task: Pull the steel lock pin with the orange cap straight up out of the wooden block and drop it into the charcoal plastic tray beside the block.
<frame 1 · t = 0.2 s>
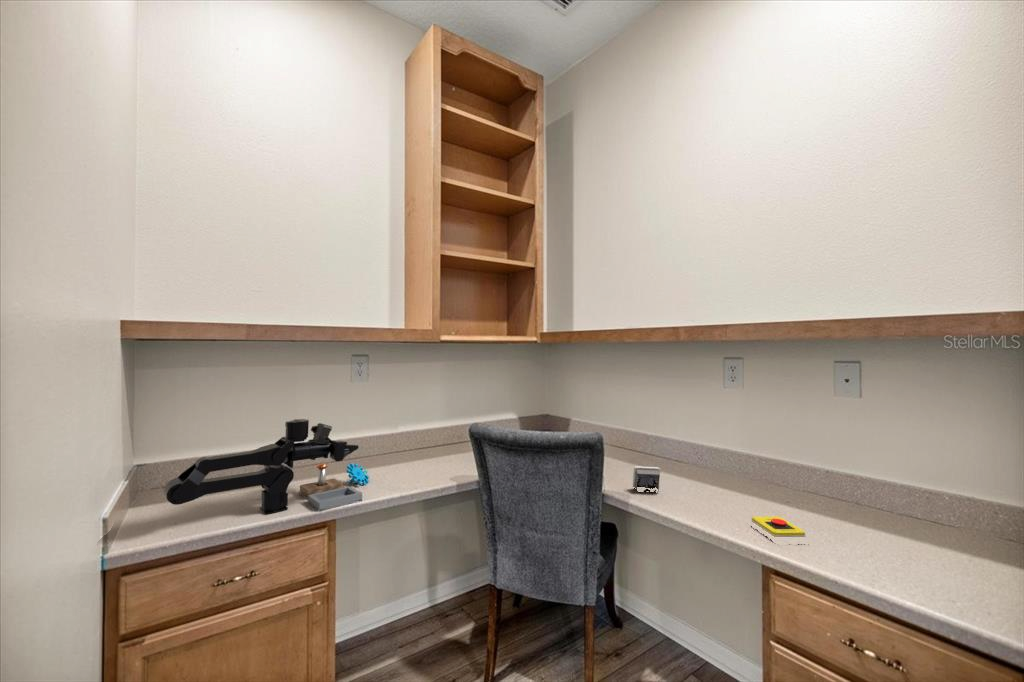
hand: (352, 445, 156), 16 cm above the worktop, tool horizontal, fingers open, 9 cm apart
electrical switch: (647, 492, 159), on the worktop
wooden block: (321, 492, 155), on the worktop
gear: (358, 484, 165), on the worktop
lock pin: (321, 478, 155), in the wooden block
emergency button: (776, 535, 125), on the worktop
tray: (335, 501, 146), on the worktop
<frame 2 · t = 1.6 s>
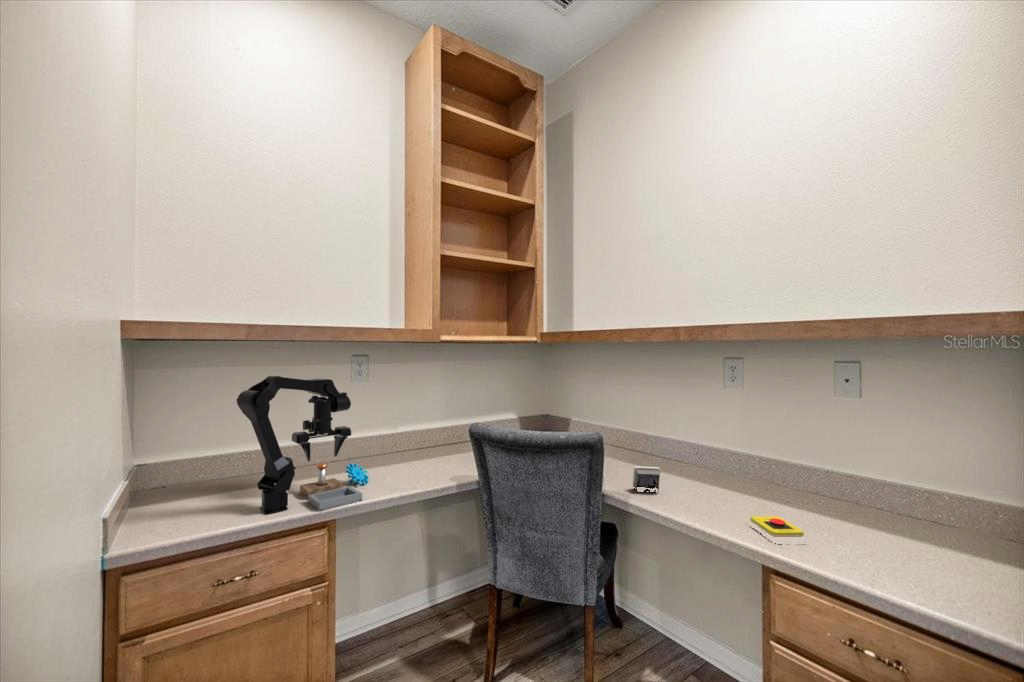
hand: (322, 458, 155), 12 cm above the worktop, tool pointing down, fingers open, 9 cm apart
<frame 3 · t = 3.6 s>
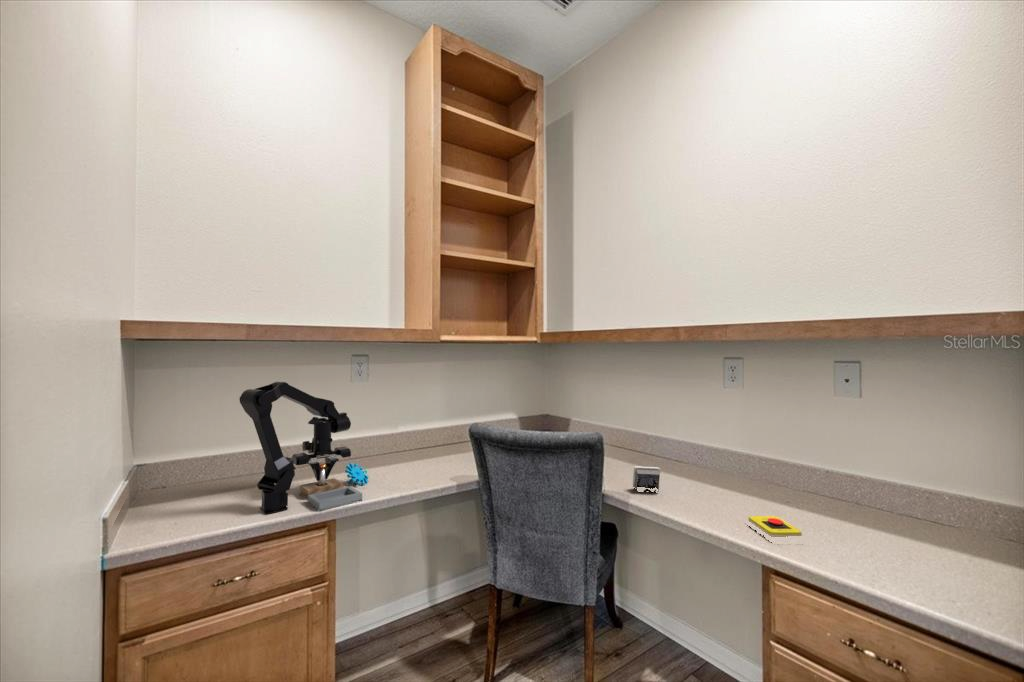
hand: (321, 479, 155), 5 cm above the worktop, tool pointing down, fingers closed on lock pin, 3 cm apart
lock pin: (321, 478, 155), in the wooden block, touching gripper
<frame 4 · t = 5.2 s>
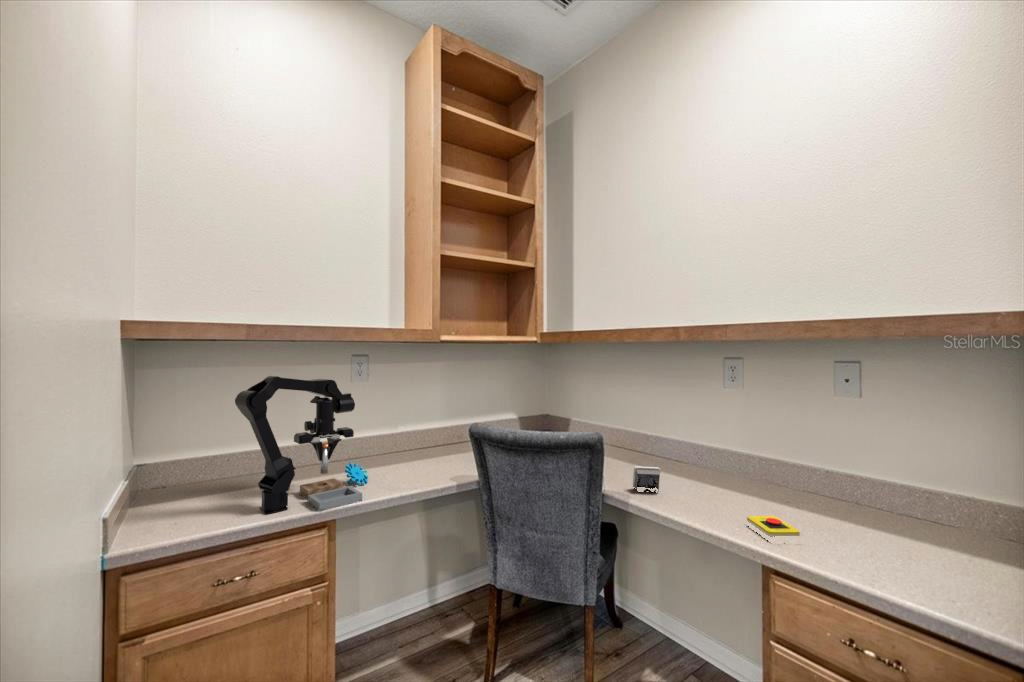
hand: (324, 459, 153), 12 cm above the worktop, tool pointing down, fingers closed on lock pin, 3 cm apart
lock pin: (324, 458, 153), point 12 cm above the worktop, touching gripper
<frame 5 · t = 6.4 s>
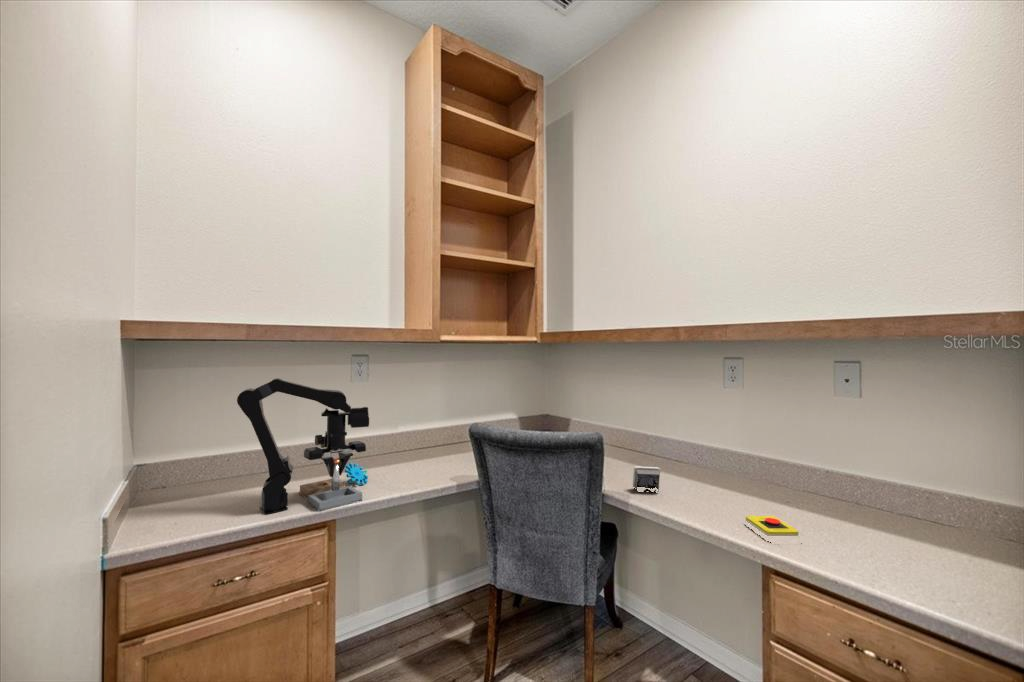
hand: (335, 475, 146), 9 cm above the worktop, tool pointing down, fingers closed on lock pin, 3 cm apart
lock pin: (335, 474, 146), point 9 cm above the worktop, touching gripper
when the fingers open (7 cm above the worktop, at t = 7.3 s): lock pin drops 2 cm, resting on tray.
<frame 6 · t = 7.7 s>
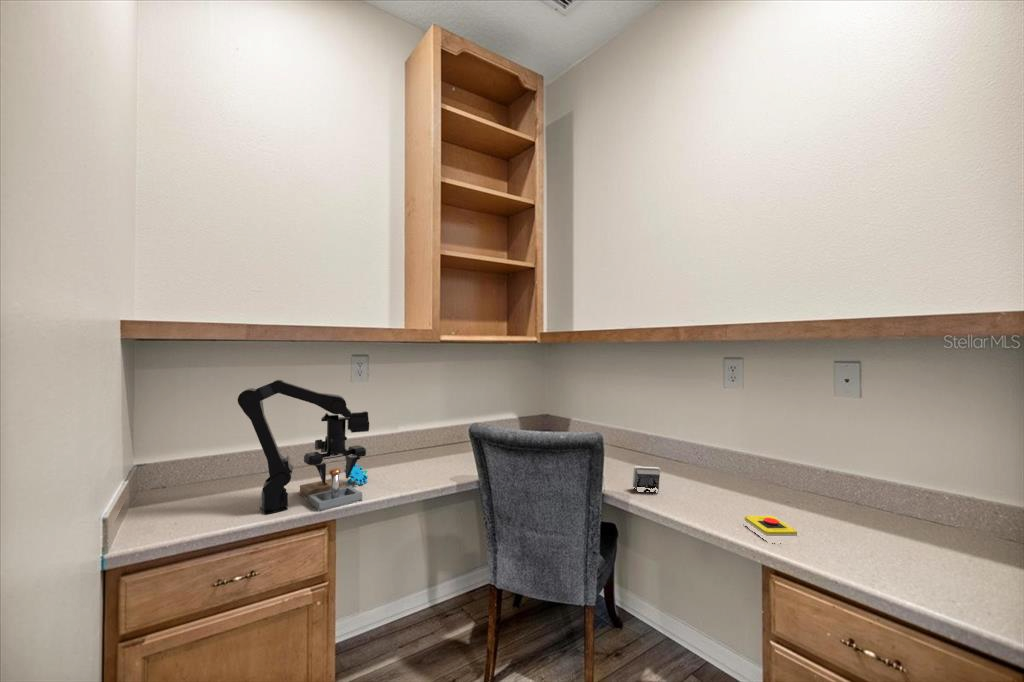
hand: (335, 480, 146), 7 cm above the worktop, tool pointing down, fingers open, 7 cm apart
lock pin: (335, 484, 146), in the tray, point 6 cm above the worktop
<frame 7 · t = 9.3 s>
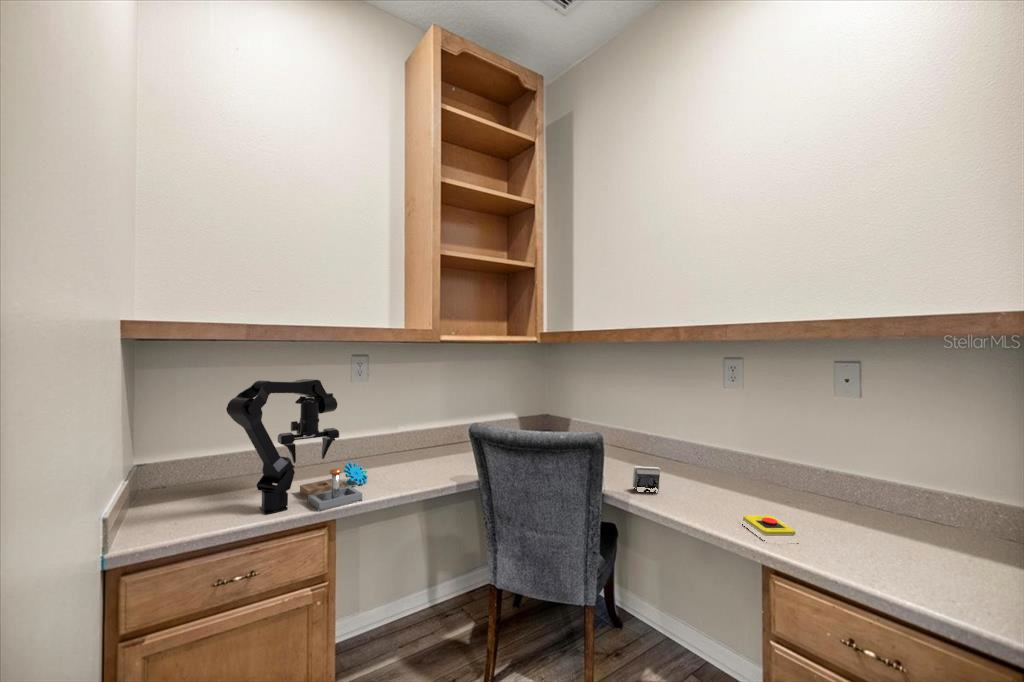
hand: (308, 460, 152), 12 cm above the worktop, tool pointing down, fingers open, 9 cm apart
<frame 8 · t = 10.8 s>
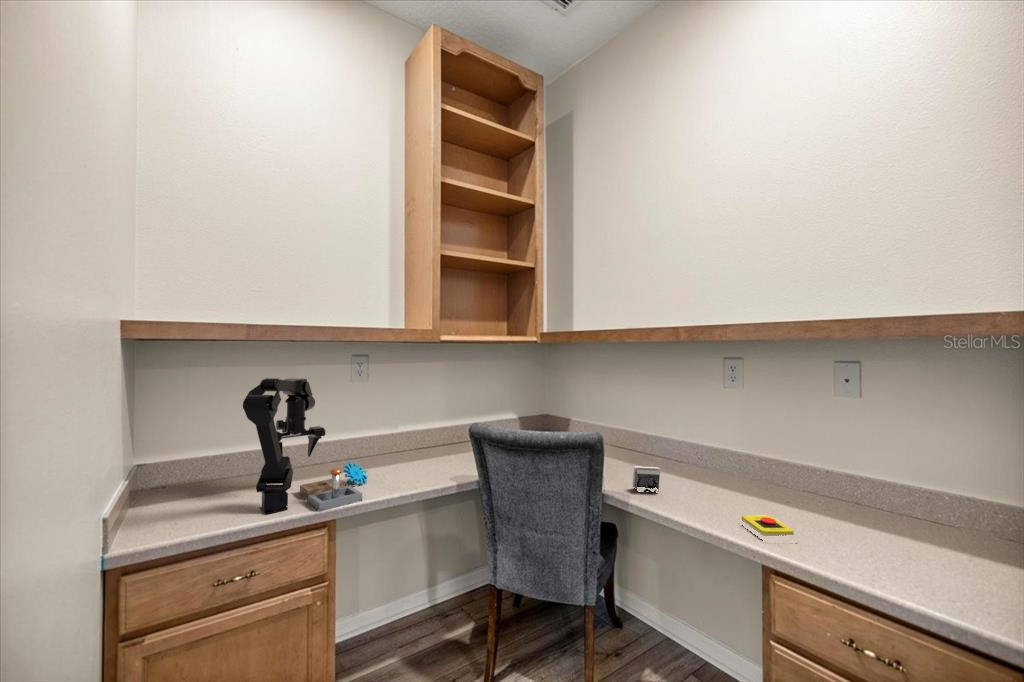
hand: (295, 458, 154), 12 cm above the worktop, tool pointing down, fingers open, 9 cm apart
at the end: lock pin inside the target area on the tray (0.0 cm from its centre), point 5.6 cm above the tray's base; the gripper is holding nothing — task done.
